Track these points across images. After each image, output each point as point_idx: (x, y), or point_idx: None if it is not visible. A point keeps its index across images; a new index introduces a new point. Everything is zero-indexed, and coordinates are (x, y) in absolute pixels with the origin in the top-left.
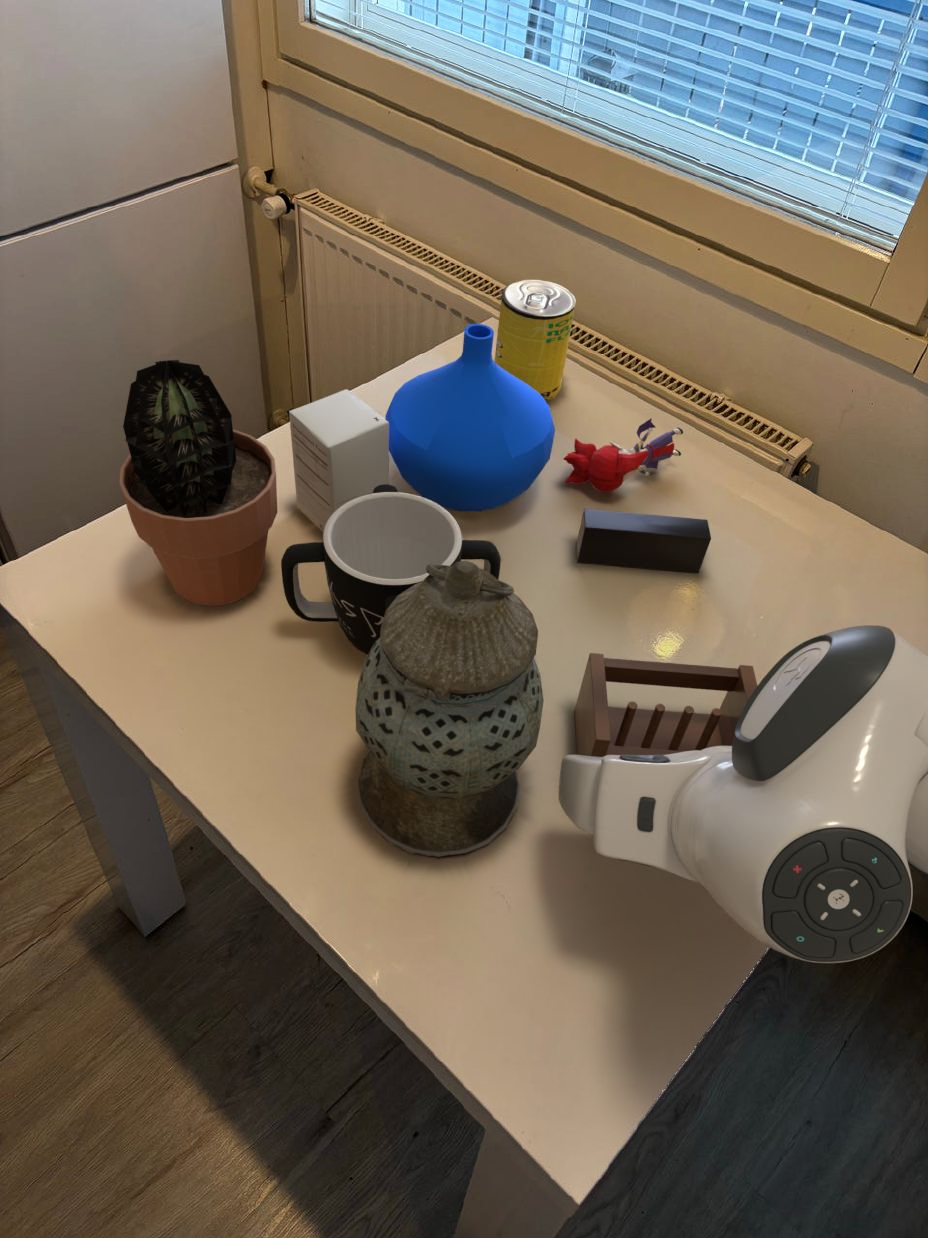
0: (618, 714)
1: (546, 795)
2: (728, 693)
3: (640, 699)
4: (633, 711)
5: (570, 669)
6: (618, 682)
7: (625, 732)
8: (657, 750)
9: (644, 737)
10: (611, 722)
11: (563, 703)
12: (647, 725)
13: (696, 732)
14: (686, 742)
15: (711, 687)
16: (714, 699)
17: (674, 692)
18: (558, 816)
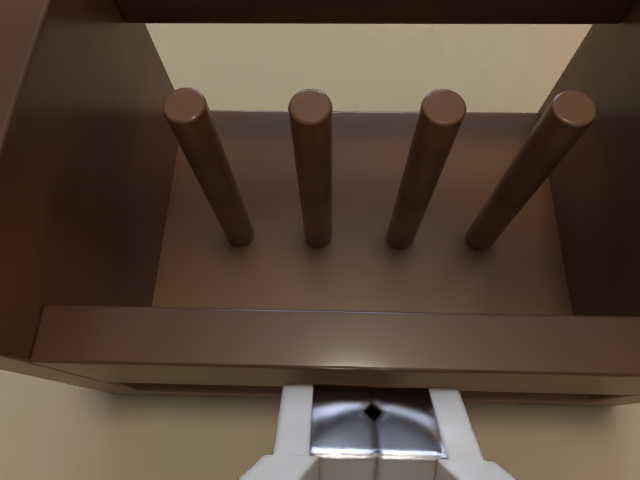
0: (259, 132)
1: (13, 400)
2: (593, 37)
3: (336, 86)
4: (192, 133)
5: (173, 24)
6: (194, 22)
7: (221, 204)
8: (280, 317)
9: (301, 209)
10: (234, 157)
11: None
12: (336, 159)
13: (477, 170)
14: (446, 204)
15: (540, 12)
16: (529, 72)
17: (426, 61)
18: (28, 476)
